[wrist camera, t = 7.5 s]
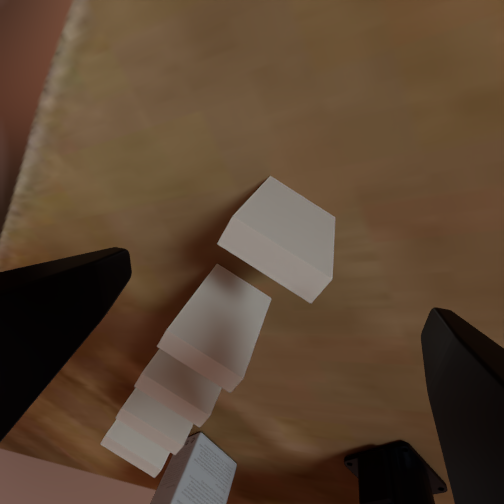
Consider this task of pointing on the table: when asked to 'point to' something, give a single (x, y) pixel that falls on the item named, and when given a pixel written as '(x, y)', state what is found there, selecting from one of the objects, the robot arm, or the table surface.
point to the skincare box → (196, 474)
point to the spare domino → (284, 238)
